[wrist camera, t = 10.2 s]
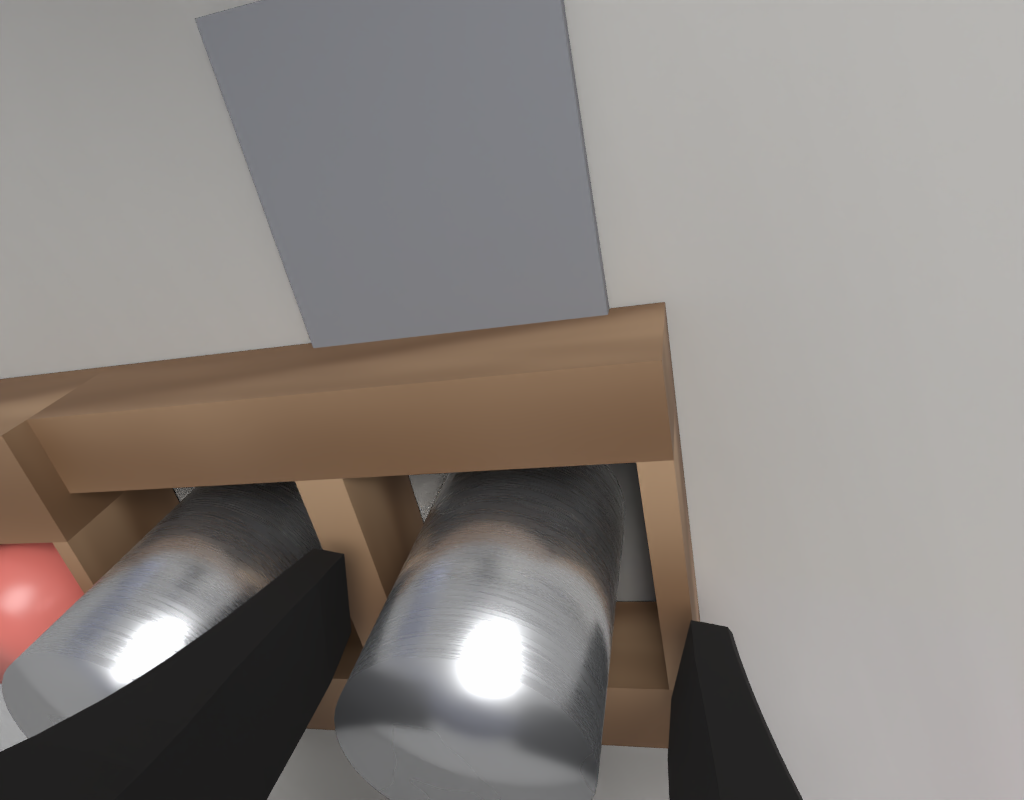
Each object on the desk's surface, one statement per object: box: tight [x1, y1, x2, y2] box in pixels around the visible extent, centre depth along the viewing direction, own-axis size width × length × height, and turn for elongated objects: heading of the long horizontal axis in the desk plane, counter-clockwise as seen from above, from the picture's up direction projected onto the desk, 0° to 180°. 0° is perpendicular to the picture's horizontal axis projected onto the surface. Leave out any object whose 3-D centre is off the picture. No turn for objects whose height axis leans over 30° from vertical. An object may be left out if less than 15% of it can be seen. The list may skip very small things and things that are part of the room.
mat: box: [195, 0, 609, 348], centre depth 12 cm, size 6×6×1 cm
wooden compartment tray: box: [0, 302, 700, 748], centre depth 16 cm, size 9×17×3 cm, turn 102°
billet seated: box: [2, 481, 323, 739], centre depth 15 cm, size 4×4×6 cm
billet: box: [334, 464, 625, 800], centre depth 13 cm, size 4×4×6 cm
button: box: [0, 543, 84, 684], centre depth 17 cm, size 3×3×3 cm
